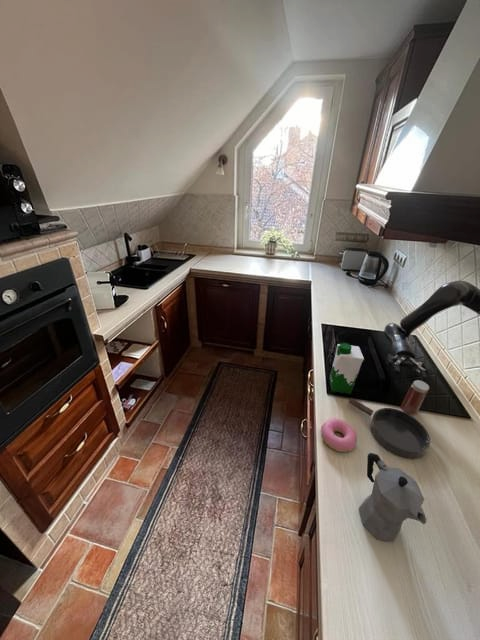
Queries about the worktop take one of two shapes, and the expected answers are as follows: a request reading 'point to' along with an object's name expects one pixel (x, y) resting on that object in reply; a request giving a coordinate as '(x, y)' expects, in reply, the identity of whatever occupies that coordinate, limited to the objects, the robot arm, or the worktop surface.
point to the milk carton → (345, 368)
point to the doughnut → (337, 442)
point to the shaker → (415, 397)
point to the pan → (399, 433)
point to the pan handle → (360, 406)
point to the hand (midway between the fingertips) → (410, 375)
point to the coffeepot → (390, 501)
